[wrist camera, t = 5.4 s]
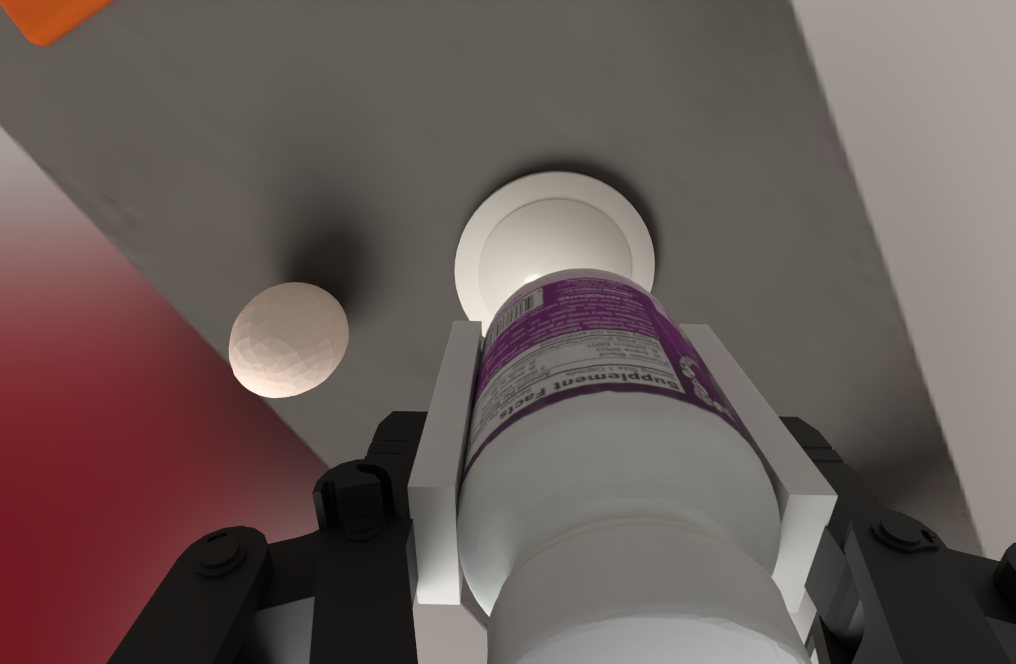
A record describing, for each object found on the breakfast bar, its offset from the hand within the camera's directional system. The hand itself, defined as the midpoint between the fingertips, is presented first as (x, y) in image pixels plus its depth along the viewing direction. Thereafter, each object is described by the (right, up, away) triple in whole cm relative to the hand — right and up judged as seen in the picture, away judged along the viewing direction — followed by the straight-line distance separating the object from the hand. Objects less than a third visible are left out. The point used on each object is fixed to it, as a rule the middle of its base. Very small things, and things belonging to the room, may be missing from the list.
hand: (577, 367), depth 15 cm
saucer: (+1, +4, +15) cm, 16 cm away
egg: (-13, +2, +17) cm, 22 cm away
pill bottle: (0, 0, 0) cm, 1 cm away
